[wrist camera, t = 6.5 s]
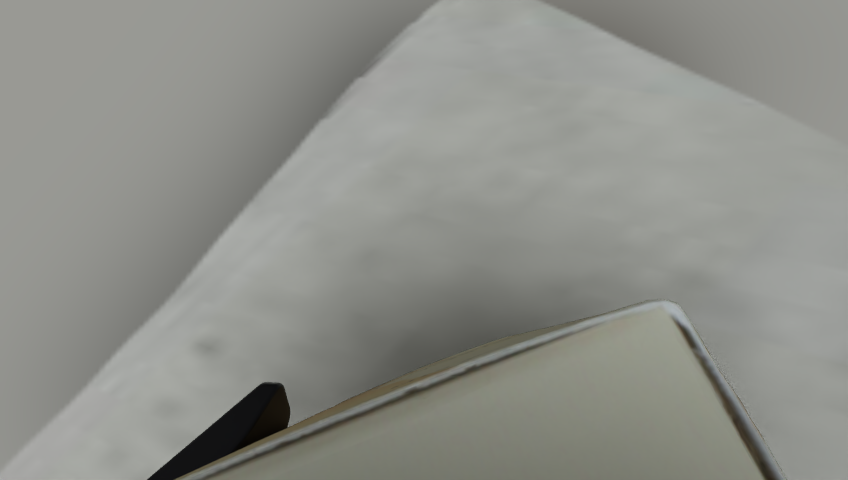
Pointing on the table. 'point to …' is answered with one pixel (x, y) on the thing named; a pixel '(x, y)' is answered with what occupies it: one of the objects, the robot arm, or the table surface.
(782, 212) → the table surface
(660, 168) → the table surface
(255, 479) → the skincare box
